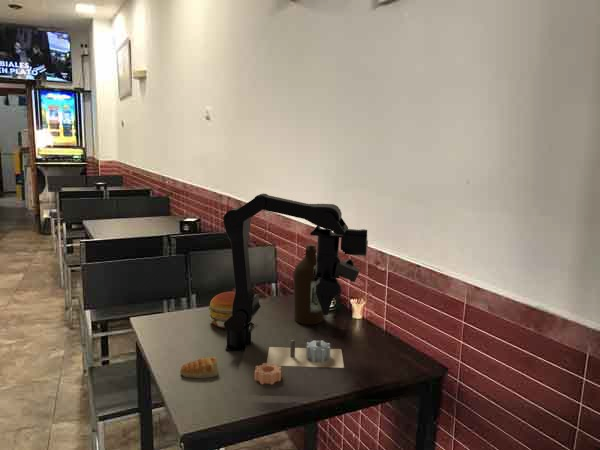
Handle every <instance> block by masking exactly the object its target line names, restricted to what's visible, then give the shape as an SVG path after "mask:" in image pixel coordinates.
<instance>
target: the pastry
mask: <svg viewBox="0 0 600 450" xmlns="http://www.w3.org/2000/svg"><path fill="white" fill-rule="evenodd" d="M181 366H182V367H181V368H180V374H181V376H183V377H184V378H191V379H192V378H193V379H194V378H195V379H204V378H206V379H207V378H213V377H217V376H218V375H219V366H218V361H217V357H216V356H212V357H200V358H197V359H195V360H193V361H190V362H188V363H185V364H183V365H181Z"/></svg>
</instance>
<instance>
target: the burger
mask: <svg viewBox="0 0 600 450" xmlns="http://www.w3.org/2000/svg"><path fill="white" fill-rule="evenodd" d="M234 297H235V291H224V292H221V293H219V294H216V295H215V296H214V297H213V298H212V299H211V300H210V303H209V307H208V310H210V312H209V316H208V317H209V318H208V319H209V322H211V323H212V324H213V325H214V326H216V327H218V328H222V329H223V328H224V329H225V327H224V322H225V321H226V320H227V319H228V318H229V317H230V316H231V315H232V306H233V301H234Z"/></svg>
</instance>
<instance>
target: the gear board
mask: <svg viewBox="0 0 600 450" xmlns="http://www.w3.org/2000/svg"><path fill="white" fill-rule="evenodd" d="M265 363H266V364H272V363H274V364H276V366H278V367H279V366H280V367H303V368H305V367H307V368H331V369H332V368H336V369H337V368H341V369H344V368H345V366H344V365H345V364H344V358H343V351H342V349H341V348H330V360H326V361H324V363H321V362H315V363H314V362H312V361H311V360H307V359H306V347H296V340H295V339H290V347H280V346H277V347H275V346H269V347H268V354H267V358H266V362H265Z"/></svg>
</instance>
